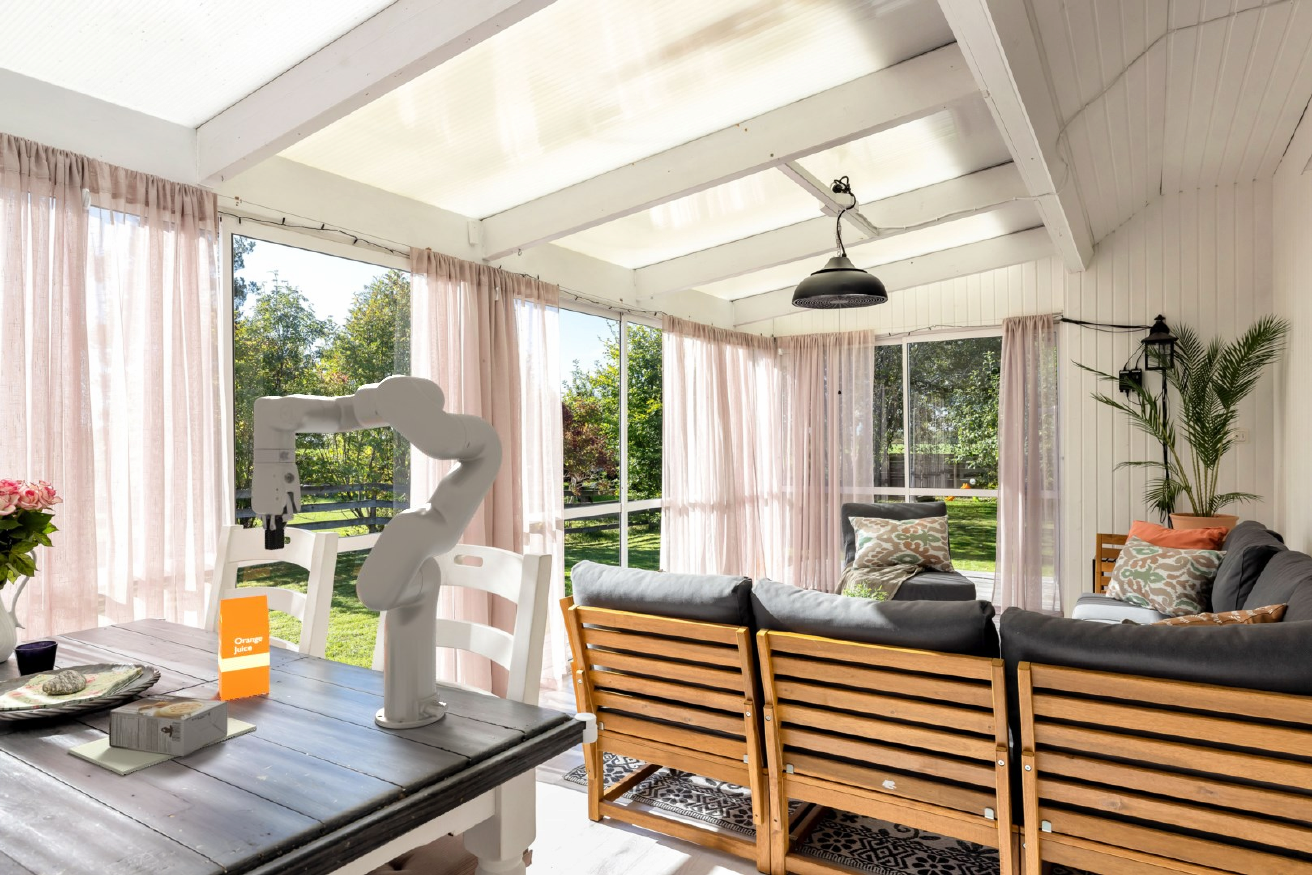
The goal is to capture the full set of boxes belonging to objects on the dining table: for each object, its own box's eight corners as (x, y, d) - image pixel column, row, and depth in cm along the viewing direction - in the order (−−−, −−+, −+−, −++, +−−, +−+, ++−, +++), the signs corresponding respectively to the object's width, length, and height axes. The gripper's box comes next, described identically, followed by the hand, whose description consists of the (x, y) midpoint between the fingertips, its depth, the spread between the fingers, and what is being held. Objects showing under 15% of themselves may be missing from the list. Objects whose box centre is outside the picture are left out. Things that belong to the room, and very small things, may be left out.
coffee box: (228, 737, 132) (157, 727, 136) (228, 700, 132) (157, 692, 136) (182, 757, 123) (108, 747, 128) (182, 718, 123) (108, 709, 128)
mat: (256, 729, 137) (256, 725, 137) (122, 775, 118) (122, 771, 118) (201, 711, 146) (201, 708, 146) (68, 752, 127) (68, 748, 127)
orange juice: (269, 693, 157) (269, 598, 157) (221, 701, 152) (221, 603, 152) (264, 683, 163) (264, 591, 164) (218, 691, 158) (218, 596, 159)
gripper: (315, 458, 151) (314, 549, 151) (269, 457, 158) (269, 544, 158) (280, 458, 144) (280, 554, 144) (234, 458, 152) (234, 548, 152)
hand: (274, 548), depth 151 cm, fingers closed
